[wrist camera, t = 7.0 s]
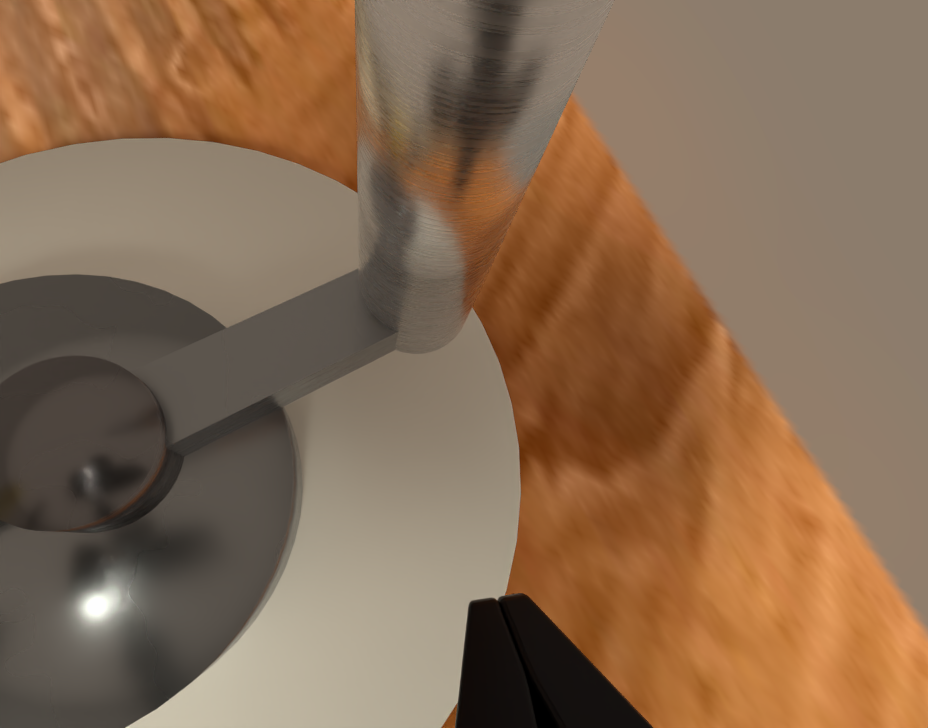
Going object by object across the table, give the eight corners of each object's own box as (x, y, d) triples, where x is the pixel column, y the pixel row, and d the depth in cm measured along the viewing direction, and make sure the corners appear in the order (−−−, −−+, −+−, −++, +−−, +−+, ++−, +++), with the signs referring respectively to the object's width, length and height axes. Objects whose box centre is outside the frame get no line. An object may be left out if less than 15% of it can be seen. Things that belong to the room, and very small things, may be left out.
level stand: (638, 505, 17) (724, 493, 13) (14, 1166, 11) (-181, 1515, 7) (243, 67, 19) (211, -62, 15) (-454, 435, 13) (-810, 388, 9)
